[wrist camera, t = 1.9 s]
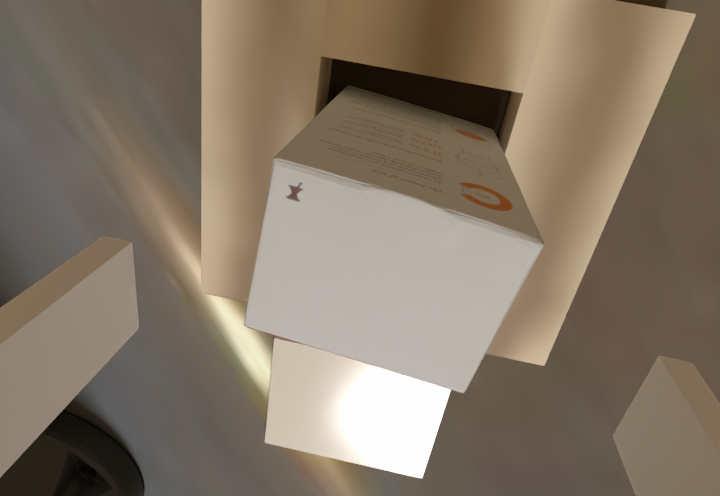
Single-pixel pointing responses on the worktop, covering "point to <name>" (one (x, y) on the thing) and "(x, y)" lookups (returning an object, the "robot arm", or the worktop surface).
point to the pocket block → (453, 62)
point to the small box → (392, 239)
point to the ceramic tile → (351, 410)
